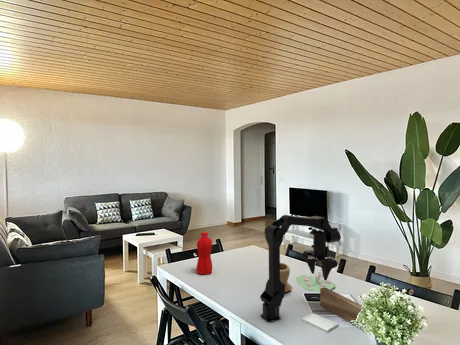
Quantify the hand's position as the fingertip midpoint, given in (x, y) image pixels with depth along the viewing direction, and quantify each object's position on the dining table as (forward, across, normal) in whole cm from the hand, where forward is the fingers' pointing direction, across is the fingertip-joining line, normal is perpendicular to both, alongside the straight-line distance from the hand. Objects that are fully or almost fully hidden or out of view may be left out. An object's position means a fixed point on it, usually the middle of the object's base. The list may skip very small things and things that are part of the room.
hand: (319, 276), depth 142 cm
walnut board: (+14, -12, -4) cm, 19 cm away
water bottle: (+15, +64, +37) cm, 75 cm away
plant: (+15, +25, -16) cm, 33 cm away
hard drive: (+15, -13, +9) cm, 22 cm away
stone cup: (+14, +21, +8) cm, 27 cm away
